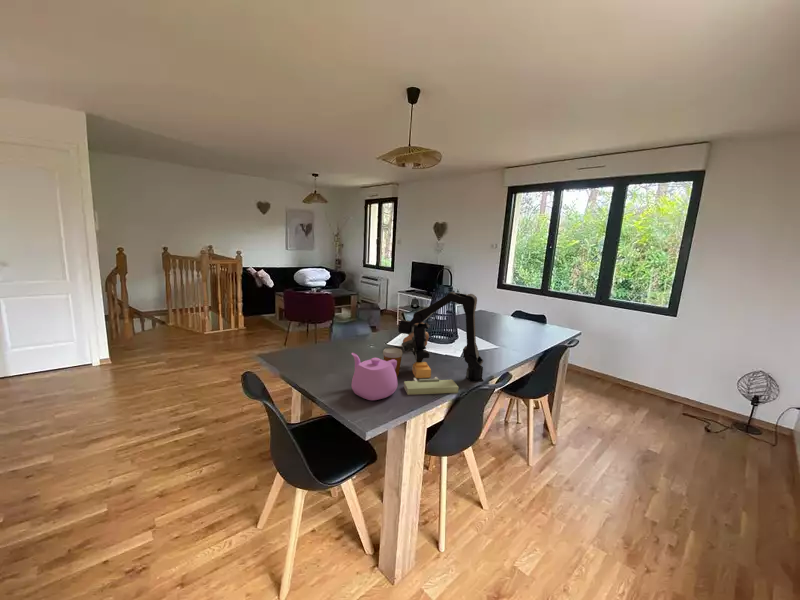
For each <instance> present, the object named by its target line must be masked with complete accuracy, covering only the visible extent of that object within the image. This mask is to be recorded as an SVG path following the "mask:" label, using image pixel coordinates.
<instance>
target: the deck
mask: <svg viewBox="0 0 800 600" xmlns="http://www.w3.org/2000/svg"><path fill="white" fill-rule="evenodd" d="M412 378H413V379H412V380H407V381H406V380H404V381H403V388H404V391H405V392H406V395H412V396H413V395H434V394H457V393H459V388H460V387H459V386H458V385H457V383H456V382H455V381H454V380H453V379H440V378H438V376H434V378H416V377H412Z"/></svg>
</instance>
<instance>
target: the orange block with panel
mask: <svg viewBox="0 0 800 600" xmlns="http://www.w3.org/2000/svg"><path fill="white" fill-rule="evenodd" d="M411 369H412V374H413V376H414V378H416V379H432V377H431V375H432V369H431V367H430V366H429V365H428V362H426V361H422V362H416V361H415V362H414V363H412V368H411Z"/></svg>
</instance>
